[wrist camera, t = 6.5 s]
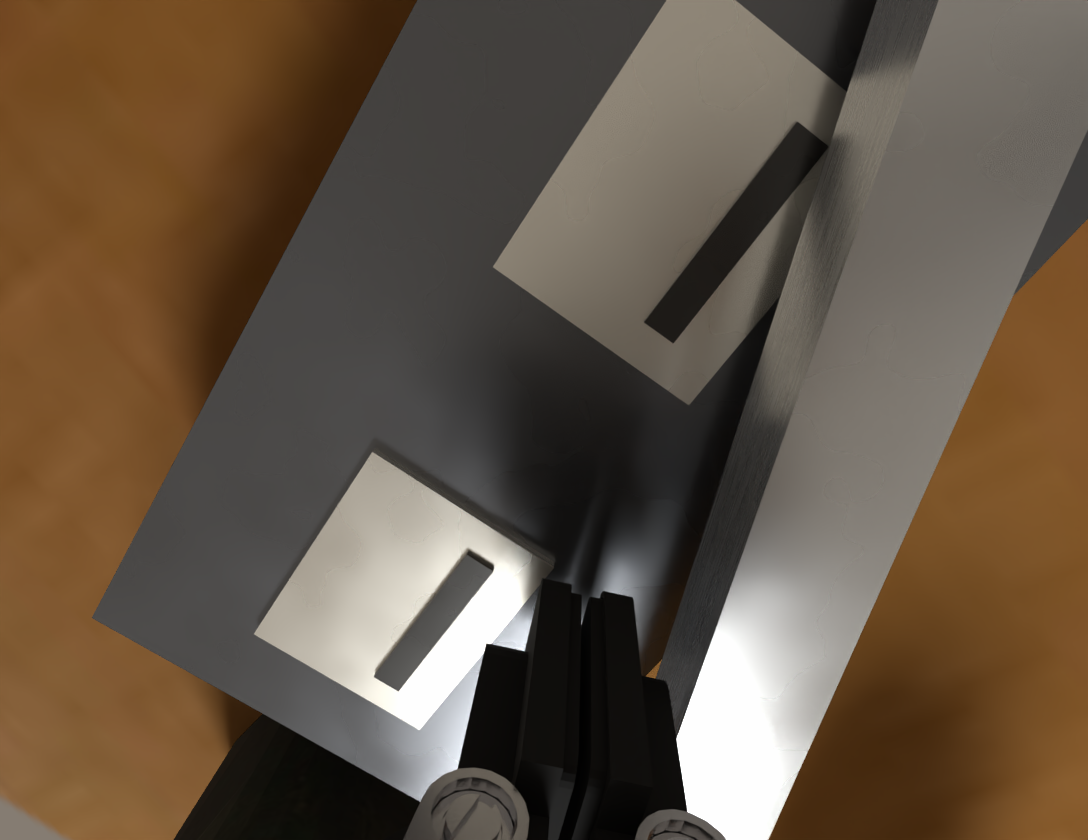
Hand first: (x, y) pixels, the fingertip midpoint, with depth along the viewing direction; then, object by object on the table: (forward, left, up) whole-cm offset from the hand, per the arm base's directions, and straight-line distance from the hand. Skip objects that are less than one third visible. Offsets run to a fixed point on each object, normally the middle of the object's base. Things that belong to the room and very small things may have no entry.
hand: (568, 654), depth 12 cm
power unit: (-4, -3, -6) cm, 8 cm away
